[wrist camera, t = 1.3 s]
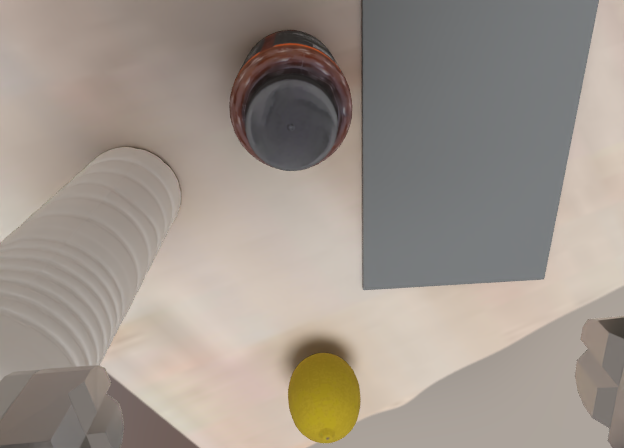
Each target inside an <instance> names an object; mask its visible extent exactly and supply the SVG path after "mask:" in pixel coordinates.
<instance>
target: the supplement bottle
mask: <svg viewBox="0 0 624 448" xmlns="http://www.w3.org/2000/svg"><path fill="white" fill-rule="evenodd" d="M230 118H231V122H232V125H233V128H234V131H235V134H236V135H237V137H238V139H239V141H240V142H241V144H242V146H243V147H244V148H245V149H246V150H247V151H248V152H249V153H250V154H251V155H252V156H253V157H255V158H256V159H258V160H259V161H261V162H262V163H264V164H266V165H269V166H271V167H275V168H277V169H281V170H286V171H297V170H303V169H307V168H309V167H312V166H315V165H317V164H319V163H320V162H322V161H324V160H325V159H327V158H328V157H329V156H330V155H332V154H333V153H334V152H335V151H336V150H337V148H338V147H339V146H340V145H341V143H342V141H343V140H344V138H345V136H346V134H347V132H348V129H349V127H350V123H351V119H352V100H351V94H350V89H349V86H348V84H347V81H346V79H345V77H344V75H343V73H342V71H341V70H340V68H339V66H338V64H337V63H336V61H335V59H334V58H333V56H332V54H331V53H330V52H329V50H328V49H327V48H326V47H325V46H324V45H323V44H322V43H321V42H320V41H319V40H318V39H316V38H315V37H313V36H311V35H309V34H306V33H304V32H300V31H295V30H288V31H280V32H276V33H273V34H271V35H269V36H267V37H265V38H263V39H262V40H261V41H260V42H258V43H257V44H256V45H255V46H254V48H253V49H252V50H251V52H250V53H249V55H248V56H247V58H246V60H245V62H244V64H243V66H242V68H241V69H240V71H239V73H238V75H237V77H236V79H235V82H234V85H233V87H232V91H231V95H230Z"/></svg>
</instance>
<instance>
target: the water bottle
mask: <svg viewBox="0 0 624 448" xmlns="http://www.w3.org/2000/svg"><path fill="white" fill-rule="evenodd" d="M180 204H181V191H180V188H179V183H178V180H177V178H176V176H175V174H174V173H173V171H172V170H171V168H170V167H169V166H168V165H167V164H165V163H164V162H163V161H162V160H161V159H160V158H159V157H157V156H156V155H154V154H152V153H150V152H148V151H145V150H142V149H135V148H132V147H120V148H114V149H111V150H108V151H106V152H104V153H102V154H100V155H99V156H98V157H96V158H95V159H94V160H93V161H92V162H91V163H89V164H88V165H87V166H86V167H85V168H84V169H83V170H82V171H81V172H80V173H78V174H77V175H76V176H75V177H74V178H73V179H72V180H71V181H70V182H69V183H68V184H66V185H65V186H64V187H63V188H61V189H60V190H59V191H58V192H57V193H56V194H55V195H54V196H53V197H52V198H50V199H49V200H48V201H47V202H46V203H45V204H44V205H43V206H42V207H41V208H40V209H39V210H37V211H36V212H35V213H33V214H32V215H31V216H30V217H29V218H28V219H27V220H26V221H25V222H24V223H23V224H22V225H21V226H20V227H18V228H17V229H16V230H14V231H13V232H12V233H11V234H9V235H8V236H7V237H6V238H5V239H4V240H3V241H2V242H1V243H0V381H1V380H2V379H3V377H4V376H6V375H8V374H10V373H12V372H17V371H30V370H42V369H52V368H66V367H80V366H95V365H98V366H100V363H101V361H102V360H103V358H104V356H105V354H106V352H107V349H108V348H109V346H110V344H111V342H112V340H113V338H114V336H115V334H116V333H117V331H118V328H119V326H120V324H121V323H122V321H123V319H124V317H125V316H126V314H127V312H128V310H129V309H130V306H131V304H132V302H133V300H134V297H135V295H136V293H137V292H138V290H139V288H140V286H141V285H142V282H143V280H144V278H145V275H146V274H147V272H148V270H149V269H150V267H151V265H152V263H153V260H154V258H155V256H156V254H157V253H158V251H159V249H160V247H161V244H162V242H163V240H164V239H165V237H166V235H167V233H168V231H169V229H170V227H171V225H172V223H173V222H174V220H175V218H176V216H177V214H178V211H179V208H180Z"/></svg>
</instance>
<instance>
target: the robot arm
mask: <svg viewBox="0 0 624 448" xmlns="http://www.w3.org/2000/svg"><path fill="white" fill-rule="evenodd" d="M581 341H582V342H583V343H584V344H585V346H586V347H587V348H588V349H587V350H586V351H585V353H583V355H582V356H581V357H580V358H579V359H578V360H577V364H576V372H575V378H576V384H577V389H578V393H579V396H580V398H581V400H582V403H583V405H584V406H585V408H586V409H587V411H588V412H589V414H590V415H591V417H592V418H593V419H595V420H597V421H598V422H600V423H602V424H604V425H605V426H607V427H608V428H609V435H608V442H609V443H610V445H611V446H612V448H624V316H617V317H607V318H596V319H588V320H587V321H586V323H585V324H584V326H583V328H582V334H581ZM110 384H111V381H110V379H109V376H108V374H107V372H106V369H105V368H103V367H101V366H98V365H95V366H80V367H66V368H52V369H42V370H30V371H17V372H12V373H10V374H8V375H6V376H4V377H3V379H2V380H1V381H0V448H120V447H121V445H122V438H123V430H124V423H123V416H122V411H121V408H120V405H119V402H117V401H116V400H115V399H113V398H112V397H110V396H109V395H108V394H106V393H107V390H108V388H109V386H110Z"/></svg>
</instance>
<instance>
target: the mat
mask: <svg viewBox="0 0 624 448" xmlns="http://www.w3.org/2000/svg"><path fill="white" fill-rule="evenodd" d="M598 2H599V0H362V151H363V290H375V289H391V288H408V287H425V286H441V285H458V284H474V283H491V282H508V281H524V280H541V279H544V277H545V272H546V267H547V261H548V256H549V251H550V246H551V241H552V236H553V231H554V226H555V221H556V216H557V211H558V205H559V200H560V195H561V190H562V185H563V180H564V175H565V170H566V165H567V160H568V155H569V150H570V144H571V139H572V134H573V129H574V124H575V119H576V114H577V109H578V104H579V99H580V94H581V89H582V83H583V78H584V73H585V68H586V63H587V58H588V53H589V48H590V43H591V38H592V33H593V27H594V22H595V17H596V12H597V7H598Z"/></svg>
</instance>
